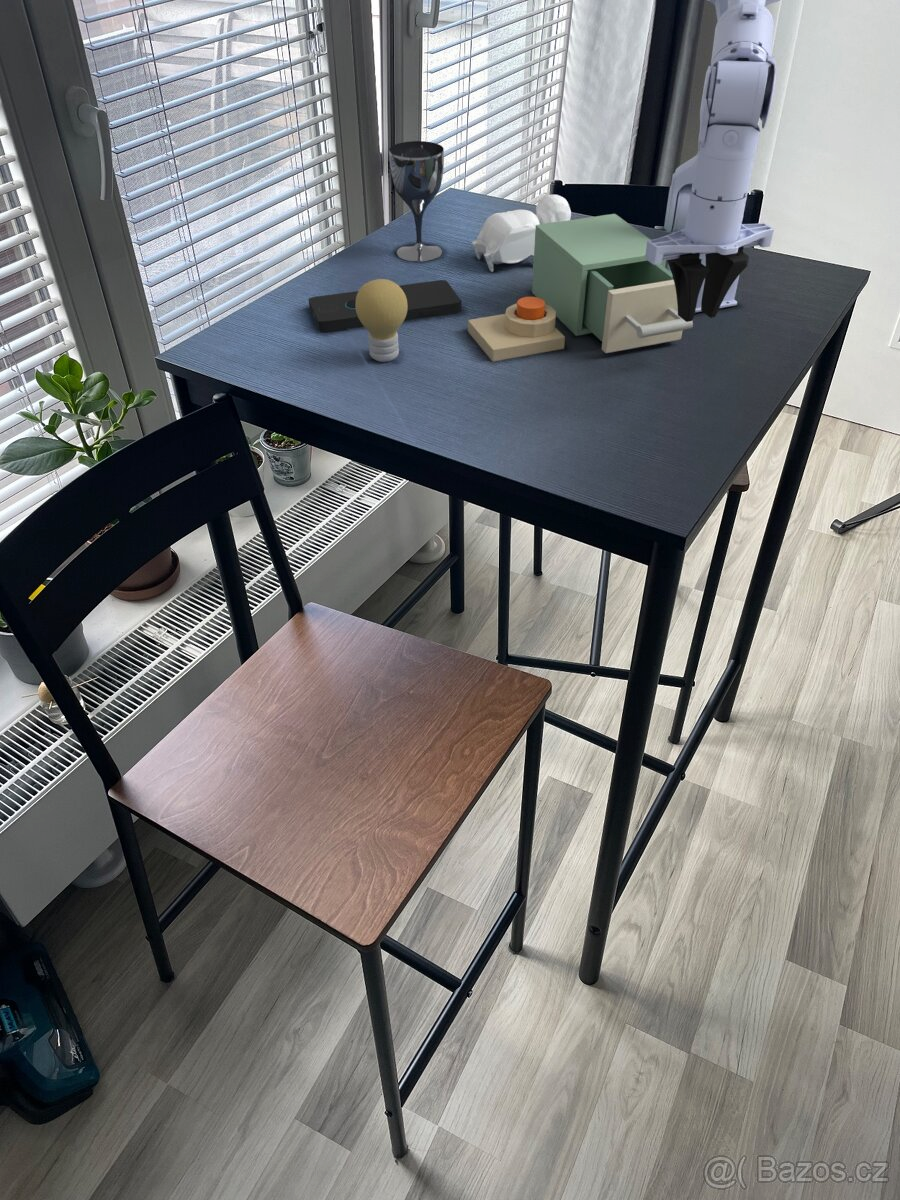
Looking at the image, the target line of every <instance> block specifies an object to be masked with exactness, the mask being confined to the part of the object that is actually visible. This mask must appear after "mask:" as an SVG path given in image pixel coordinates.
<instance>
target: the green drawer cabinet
mask: <svg viewBox="0 0 900 1200" xmlns="http://www.w3.org/2000/svg"><path fill="white" fill-rule="evenodd" d="M648 240H651V238H649V237H648V236H646V235H645V234H644V233H642V232H641V231H640V230H638V229H637V228H635V227H634V226H632V225H631V224H630V223H628V222H627V221H626V220H624V219H623V218H622V217H621V216H619V215H618V214H616V213H611V214H610V213H609V214H603V215H597V216H589V217H582V218H577V219H576V218H575V219H570V220H568V221H561V222H554V223H547V224H540V225H536V229H535V246H534V257H533V266H532V283H531V287H532V288H531V293H532V294H533V295H534V297H537V298H541V299H542V300H544V301H545V305H548V306H550V307H552V308H553V309H554V310H555V311H556V319H558V320H559V321H560V322H561V324H563V325H564V326H565V327H566V328H567V329H568V330H569V331H571V333H572V334H573V335H575V336H576V337H577V336H583V335H588V334H589V335H590V334H593V333H592V332H591V331H590V330H589V329H588V328H587V327H586V326H585V325H584V324H583V323H582V322H583V312H584V301H585V291H586V280H587V270H592V269H598V268H604V267H611V266H617V265H623V264H629V263H636V262H642V261H648V260H647V259H645V254H646V247H647V241H648ZM666 262H667V260H664V261H662V263H661V265H662V266H663V267H665V268H666Z"/></svg>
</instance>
